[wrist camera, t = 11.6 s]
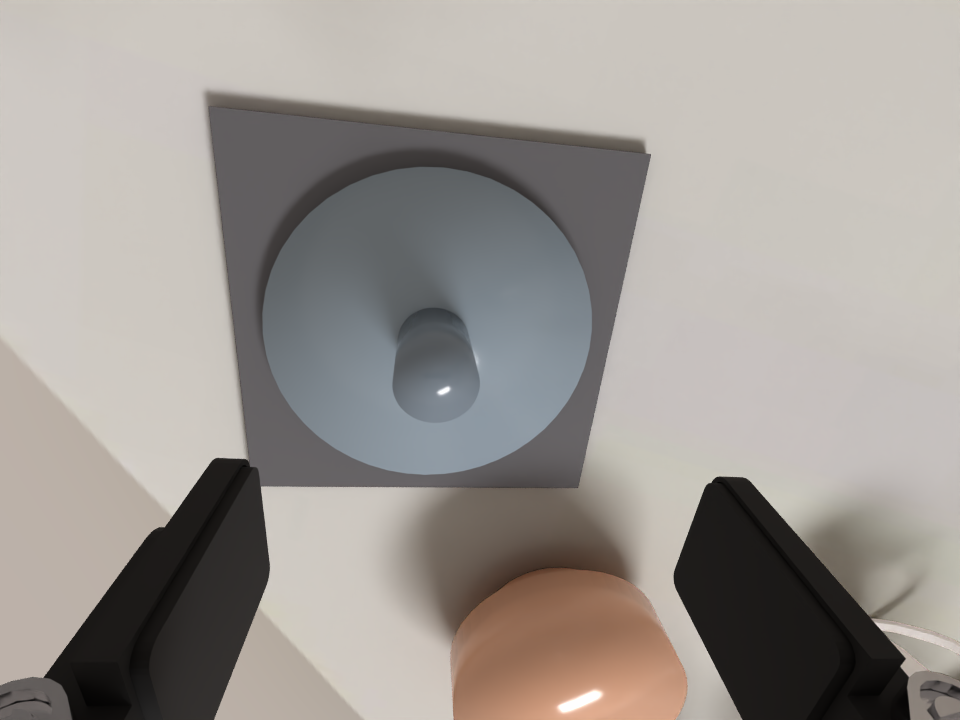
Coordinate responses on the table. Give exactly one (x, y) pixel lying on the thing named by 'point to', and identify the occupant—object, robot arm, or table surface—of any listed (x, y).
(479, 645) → the bowl
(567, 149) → the mat
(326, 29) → the table surface
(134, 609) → the robot arm
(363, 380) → the lid
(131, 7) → the table surface
